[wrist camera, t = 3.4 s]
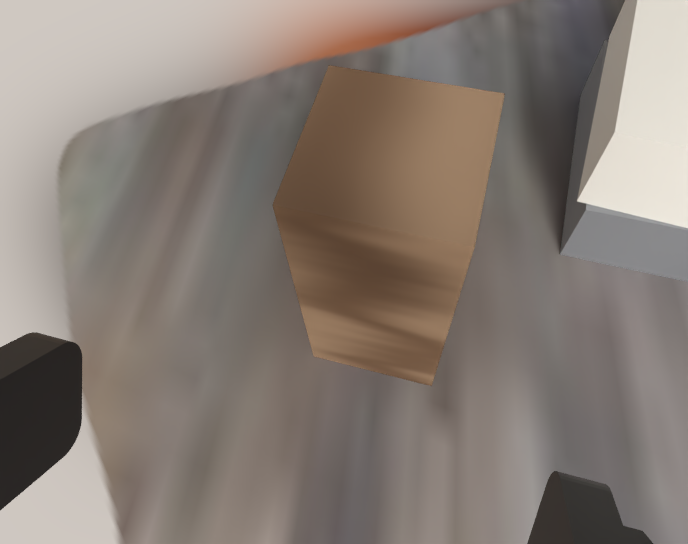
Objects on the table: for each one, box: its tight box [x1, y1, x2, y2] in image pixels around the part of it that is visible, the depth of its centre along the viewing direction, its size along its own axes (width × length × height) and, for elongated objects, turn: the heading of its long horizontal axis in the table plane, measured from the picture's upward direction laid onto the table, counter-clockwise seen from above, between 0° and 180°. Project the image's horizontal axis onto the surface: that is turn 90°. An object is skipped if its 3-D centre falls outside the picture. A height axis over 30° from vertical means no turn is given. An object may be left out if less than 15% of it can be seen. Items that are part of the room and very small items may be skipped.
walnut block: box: [273, 65, 505, 386], centre depth 19 cm, size 5×5×11 cm
